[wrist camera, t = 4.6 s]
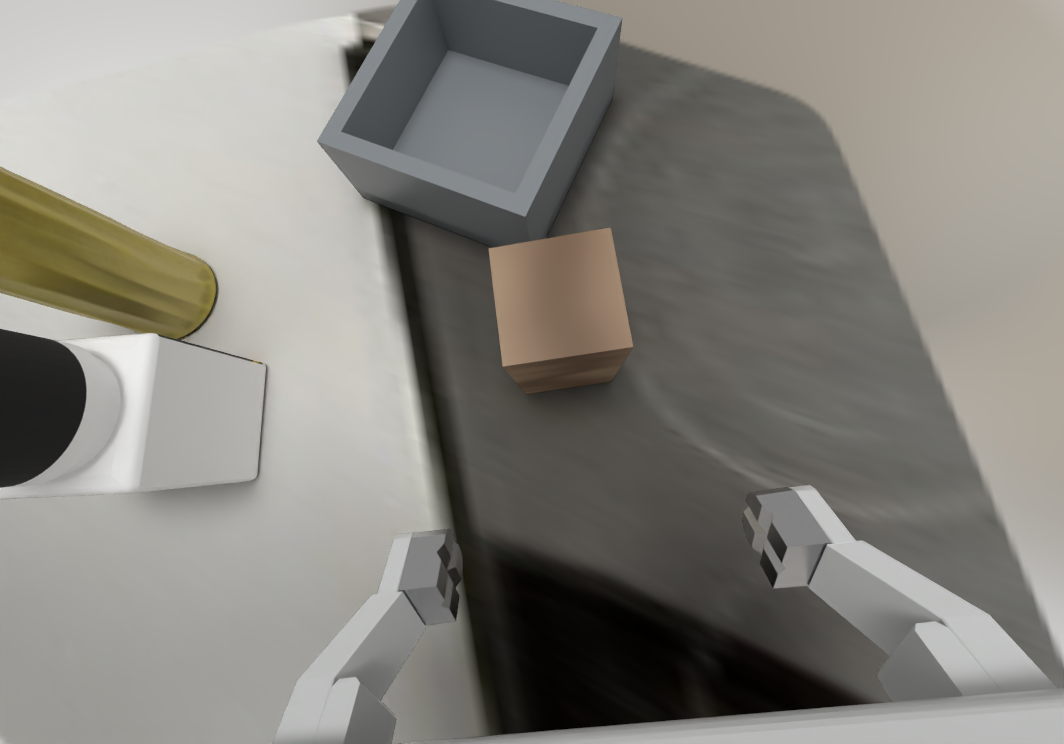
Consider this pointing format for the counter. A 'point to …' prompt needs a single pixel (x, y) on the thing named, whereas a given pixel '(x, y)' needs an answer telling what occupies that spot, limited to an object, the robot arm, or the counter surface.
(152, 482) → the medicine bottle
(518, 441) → the counter surface
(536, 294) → the block
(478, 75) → the bin
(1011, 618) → the counter surface
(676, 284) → the counter surface
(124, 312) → the vase
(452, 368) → the counter surface
